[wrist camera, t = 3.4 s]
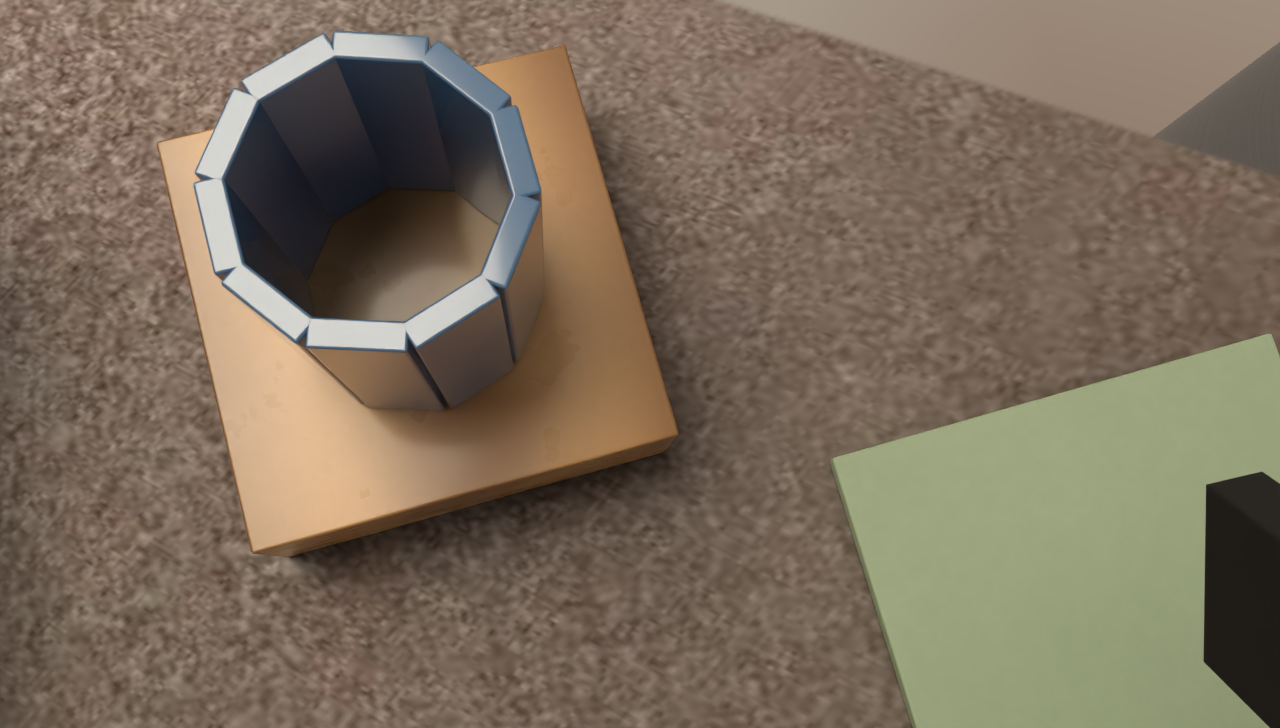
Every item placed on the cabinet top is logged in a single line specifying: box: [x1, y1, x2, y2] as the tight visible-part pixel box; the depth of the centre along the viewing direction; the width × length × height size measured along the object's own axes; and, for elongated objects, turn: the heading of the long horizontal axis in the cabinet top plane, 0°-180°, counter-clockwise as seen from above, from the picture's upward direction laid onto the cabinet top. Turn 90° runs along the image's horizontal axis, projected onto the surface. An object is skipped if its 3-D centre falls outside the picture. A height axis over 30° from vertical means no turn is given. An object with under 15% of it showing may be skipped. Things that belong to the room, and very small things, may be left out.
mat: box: [829, 334, 1280, 728], centre depth 35 cm, size 14×12×1 cm
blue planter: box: [193, 31, 545, 411], centre depth 27 cm, size 6×7×8 cm
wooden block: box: [157, 46, 679, 557], centre depth 33 cm, size 11×11×4 cm
